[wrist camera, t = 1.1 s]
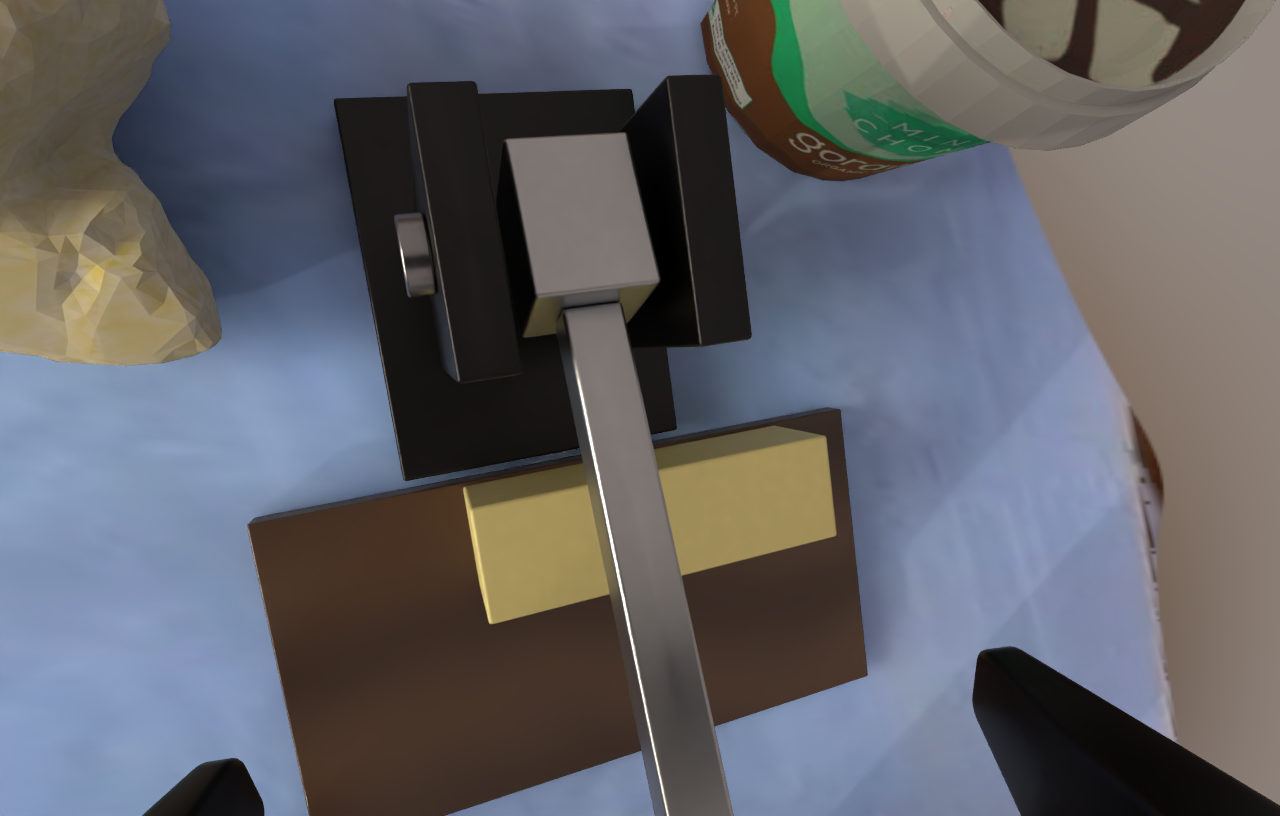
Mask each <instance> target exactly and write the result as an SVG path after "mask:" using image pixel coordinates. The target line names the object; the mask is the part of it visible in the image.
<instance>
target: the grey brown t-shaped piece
mask: <svg viewBox="0 0 1280 816" xmlns="http://www.w3.org/2000/svg"><path fill="white" fill-rule="evenodd" d="M496 208H497V214H498V221H499V227H500V232H501V237H502V242H503V248H504V253H505V258H506V263H507V268H508V273H509V278H510V283H511V288H512V293H513V298H514V303H515V309H516V314H517V319H518V324H519V329H520V334H521V335H522V337H526V338H528V337H535V336H542V335H549V334H556V333H557V338H558V343H559V348H560V353H561V358H562V362H563V367H564V372H565V377H566V382H567V387H568V392H569V397H570V402H571V407H572V412H573V416H574V421H575V426H576V431H577V436H578V441H579V446H580V451H581V456H582V461H583V465H584V470H585V475H586V480H587V485H588V490H589V495H590V500H591V505H592V510H593V515H594V519H595V524H596V529H597V534H598V539H599V544H600V549H601V554H602V559H603V564H604V568H605V573H606V578H607V583H608V588H609V593H610V598H611V603H612V608H613V613H614V618H615V622H616V627H617V632H618V637H619V642H620V647H621V652H622V657H623V662H624V667H625V671H626V676H627V681H628V686H629V691H630V696H631V701H632V706H633V711H634V716H635V721H636V725H637V730H638V735H639V740H640V745H641V750H642V755H643V760H644V765H645V770H646V775H647V779H648V784H649V789H650V794H651V799H652V804H653V809H654V814H655V816H734V814H733V809H732V805H731V800H730V796H729V791H728V786H727V782H726V777H725V773H724V768H723V764H722V759H721V754H720V750H719V745H718V741H717V736H716V731H715V727H714V722H713V718H712V713H711V709H710V704H709V699H708V695H707V690H706V686H705V681H704V676H703V672H702V667H701V663H700V658H699V654H698V649H697V644H696V640H695V635H694V631H693V626H692V621H691V617H690V612H689V608H688V603H687V599H686V594H685V589H684V585H683V580H682V576H681V571H680V566H679V562H678V557H677V553H676V548H675V544H674V539H673V534H672V530H671V525H670V521H669V516H668V511H667V507H666V502H665V498H664V493H663V489H662V484H661V479H660V475H659V470H658V466H657V461H656V456H655V452H654V447H653V443H652V438H651V434H650V429H649V424H648V420H647V415H646V411H645V406H644V401H643V397H642V392H641V388H640V383H639V379H638V374H637V369H636V365H635V360H634V356H633V351H632V346H631V342H630V337H629V333H628V328H627V323H628V322H629V321H630V320H631V319H632V318H633V316H634V315H635V314H636V312H637V311H638V310H639V309H640V307H641V306H642V305H643V304H644V302H645V301H646V300H647V299H648V297H649V296H650V295H651V294H652V292H653V291H654V290H655V289H656V287H657V286H658V285H659V284H660V281H661V277H660V273H659V268H658V264H657V259H656V255H655V251H654V246H653V242H652V237H651V233H650V229H649V224H648V220H647V215H646V211H645V207H644V202H643V198H642V193H641V189H640V184H639V180H638V176H637V171H636V167H635V162H634V158H633V154H632V149H631V145H630V140H629V136H628V134H627V133H625V132H620V133H601V134H582V135H563V136H544V137H525V138H508V139H505V140H504V142H503V147H502V156H501V164H500V172H499V181H498V189H497V198H496Z"/></svg>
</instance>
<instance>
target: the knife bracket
mask: <svg viewBox="0 0 1280 816" xmlns="http://www.w3.org/2000/svg"><path fill="white" fill-rule="evenodd" d="M334 107H335V112H336V118H337V123H338V129H339V134H340V139H341V145H342V150H343V156H344V161H345V166H346V172H347V177H348V183H349V188H350V194H351V199H352V204H353V210H354V215H355V221H356V226H357V231H358V237H359V242H360V248H361V253H362V259H363V264H364V269H365V275H366V280H367V286H368V291H369V296H370V302H371V307H372V313H373V318H374V324H375V329H376V334H377V340H378V345H379V351H380V356H381V361H382V367H383V372H384V378H385V383H386V389H387V394H388V399H389V405H390V410H391V416H392V421H393V426H394V432H395V437H396V443H397V448H398V454H399V459H400V464H401V470H402V475H403V479H404V480H405V481H409V480H414V479H419V478H425V477H430V476H435V475H440V474H446V473H451V472H456V471H462V470H467V469H472V468H477V467H483V466H488V465H493V464H498V463H504V462H509V461H514V460H520V459H525V458H530V457H535V456H541V455H546V454H551V453H556V452H562V451H567V450H572V449H578V448H580V446H579V441H578V436H577V431H576V426H575V421H574V416H573V412H572V407H571V402H570V397H569V392H568V387H567V382H566V377H565V372H564V367H563V362H562V358H561V353H560V348H559V343H558V338H557V333H556V334H549V335H542V336H535V337H528V338H526V337H522V335H521V334H520V329H519V324H518V319H517V314H516V309H515V303H514V298H513V293H512V288H511V283H510V278H509V273H508V268H507V263H506V258H505V253H504V248H503V242H502V237H501V232H500V227H499V221H498V214H497V208H496V198H497V189H498V181H499V172H500V164H501V156H502V147H503V142H504V140H505V139H508V138H525V137H544V136H563V135H582V134H601V133H620V132H625V133H627V134H628V136H629V140H630V145H631V149H632V154H633V158H634V162H635V167H636V171H637V176H638V180H639V184H640V189H641V193H642V198H643V202H644V207H645V211H646V215H647V220H648V224H649V229H650V233H651V237H652V242H653V246H654V251H655V255H656V259H657V264H658V268H659V273H660V277H661V281H660V284H659V285H658V286H657V287H656V289H655V290H654V291H653V292H652V294H651V295H650V296H649V297H648V299H647V300H646V301H645V302H644V304H643V305H642V306H641V307H640V309H639V310H638V311H637V312H636V314H635V315H634V316H633V318H632V319H631V320H630V321H629V322H628V323H627V328H628V333H629V337H630V342H631V346H632V351H633V356H634V360H635V365H636V369H637V374H638V379H639V383H640V388H641V392H642V397H643V401H644V406H645V411H646V415H647V420H648V424H649V429H650V434H657V433H662V432H667V431H672V430H676V429H677V425H676V417H675V410H674V402H673V395H672V387H671V380H670V372H669V365H668V357H667V349H666V348H667V347H703V346H709V345H716V344H723V343H729V342H736V341H742V340H748V339H750V338H751V336H752V333H751V324H750V316H749V307H748V299H747V290H746V282H745V273H744V265H743V256H742V248H741V239H740V231H739V222H738V214H737V205H736V197H735V188H734V179H733V171H732V162H731V154H730V145H729V137H728V128H727V120H726V111H725V103H724V94H723V86H722V78H721V75H718V74H714V75H678V76H667V77H666V78H665V79H664V80H663V81H662V82H661V83H660V85H659V86H658V87H657V88H656V89H655V90H654V91H653V93H652V94H651V95H650V96H649V97H648V98H647V99H646V101H645V102H644V103H643V104H642V105H641V106H640V107H639V109H638V110H637V111H636V112H635V109H634V101H633V94H632V90H631V89H609V90H579V91H549V92H519V93H489V94H478V89H477V85H476V83H475V82H473V81H455V82H420V83H409V84H407V96H400V97H370V98H340V99H334Z"/></svg>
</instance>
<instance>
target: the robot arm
mask: <svg viewBox="0 0 1280 816" xmlns="http://www.w3.org/2000/svg"><path fill="white" fill-rule="evenodd" d="M972 701H973V708H974V712H975V715H976V718H977V721H978V723H979V725H980V727H981V729H982V732H983V734H984V736H985V738H986V740H987V742H988V745H989V747H990V749H991V751H992V753H993V755H994V758H995V760H996V762H997V764H998V766H999V769H1000V771H1001V773H1002V775H1003V777H1004V779H1005V782H1006V784H1007V786H1008V788H1009V790H1010V792H1011V795H1012V797H1013V799H1014V801H1015V803H1016V805H1017V808H1018V810H1019V812H1020V814H1021V816H1280V805H1278V804H1276V803H1275V802H1273V801H1271V800H1270V799H1268V798H1266V797H1265V796H1263V795H1261V794H1260V793H1258V792H1256V791H1255V790H1253V789H1251V788H1250V787H1248V786H1247V785H1245V784H1243V783H1241V782H1240V781H1238V780H1236V779H1235V778H1233V777H1232V776H1230V775H1228V774H1227V773H1225V772H1223V771H1222V770H1220V769H1218V768H1217V767H1215V766H1213V765H1212V764H1210V763H1208V762H1206V761H1205V760H1203V759H1202V758H1200V757H1198V756H1197V755H1195V754H1193V753H1192V752H1190V751H1188V750H1187V749H1185V748H1183V747H1182V746H1180V745H1178V744H1177V743H1175V742H1173V741H1172V740H1170V739H1168V738H1167V737H1165V736H1163V735H1162V734H1160V733H1159V732H1157V731H1155V730H1154V729H1152V728H1150V727H1149V726H1147V725H1145V724H1144V723H1142V722H1140V721H1139V720H1137V719H1135V718H1134V717H1132V716H1130V715H1129V714H1127V713H1125V712H1124V711H1122V710H1120V709H1119V708H1117V707H1115V706H1114V705H1112V704H1110V703H1109V702H1107V701H1105V700H1104V699H1102V698H1100V697H1099V696H1097V695H1095V694H1094V693H1092V692H1090V691H1089V690H1087V689H1085V688H1084V687H1082V686H1080V685H1079V684H1077V683H1075V682H1074V681H1072V680H1070V679H1069V678H1067V677H1066V676H1064V675H1062V674H1061V673H1059V672H1057V671H1056V670H1054V669H1052V668H1051V667H1049V666H1047V665H1046V664H1044V663H1042V662H1041V661H1039V660H1037V659H1036V658H1034V657H1032V656H1031V655H1029V654H1027V653H1026V652H1024V651H1022V650H1020V649H1018V648H1016V647H1011V646H1008V647H1000V648H993V649H987V650H983V651H981V652H980V654H979V655H978V658H977V664H976V672H975V680H974V688H973V699H972ZM142 816H264V805H263V801H262V799H261V797H260V795H259V793H258V791H257V789H256V787H255V785H254V783H253V781H252V779H251V777H250V775H249V773H248V771H247V769H246V767H245V765H244V764H243V762H242V761H240V760H238V759H236V758H230V759H223V760H217V761H210V762H205V763H203V764H201V765H199V766H197V767H196V768H195V769H194V770H192V771H191V772H190V773H189V774H188V775H187V776H186V777H184V778H183V779H182V780H181V781H180V782H179V783H178V784H177V785H176V786H174V787H173V788H172V789H171V790H170V791H169V792H168V793H167V794H166V795H164V796H163V797H162V798H161V799H160V800H159V801H158V802H157V803H156V804H154V805H153V806H152V807H151V808H150V809H149V810H148V811H147V812H146V813H144V814H143V815H142Z"/></svg>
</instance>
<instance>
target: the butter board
mask: <svg viewBox="0 0 1280 816" xmlns="http://www.w3.org/2000/svg"><path fill="white" fill-rule="evenodd" d="M769 426H779V427H784V428H789V429H794V430H799V431H804V432H809V433H814V434H819V435H823V436H826V438H827V448H828V457H829V467H830V476H831V486H832V495H833V505H834V514H835V523H836V533H837V534H836V536H834V537H830V538H826V539H823V540H819V541H815V542H811V543H807V544H803V545H799V546H795V547H791V548H787V549H784V550H780V551H776V552H772V553H768V554H764V555H760V556H756V557H752V558H749V559H745V560H741V561H737V562H733V563H729V564H725V565H721V566H717V567H713V568H710V569H706V570H702V571H698V572H694V573H690V574H686V575H682V580H683V585H684V589H685V594H686V599H687V603H688V608H689V612H690V617H691V621H692V626H693V631H694V635H695V640H696V644H697V649H698V654H699V658H700V663H701V667H702V672H703V676H704V681H705V686H706V690H707V695H708V699H709V704H710V709H711V713H712V718H713V722H714V726H717V725H720V724H723V723H726V722H729V721H732V720H735V719H738V718H741V717H744V716H747V715H750V714H753V713H757V712H760V711H763V710H766V709H769V708H772V707H775V706H778V705H781V704H784V703H787V702H790V701H793V700H796V699H799V698H802V697H805V696H808V695H811V694H814V693H817V692H820V691H823V690H826V689H829V688H832V687H835V686H838V685H841V684H844V683H847V682H850V681H853V680H856V679H859V678H862V677H865V676H867V675H868V673H867V663H866V654H865V644H864V634H863V624H862V615H861V605H860V595H859V585H858V576H857V566H856V556H855V547H854V537H853V527H852V517H851V508H850V498H849V488H848V478H847V469H846V459H845V449H844V440H843V430H842V420H841V411H840V409H835V408H822V409H817V410H811V411H806V412H801V413H796V414H791V415H786V416H780V417H775V418H770V419H765V420H760V421H754V422H749V423H744V424H739V425H734V426H728V427H723V428H718V429H713V430H708V431H703V432H697V433H692V434H687V435H682V436H677V437H671V438H666V439H661V440H656V441H652V443H653V447H654V449H657V448H662V447H667V446H673V445H678V444H683V443H688V442H693V441H698V440H703V439H708V438H713V437H718V436H723V435H729V434H734V433H739V432H744V431H749V430H754V429H759V428H764V427H769ZM581 463H583V461H582V456H581V455H578V456H573V457H568V458H562V459H557V460H552V461H547V462H542V463H536V464H531V465H526V466H521V467H516V468H511V469H505V470H500V471H495V472H490V473H485V474H479V475H474V476H469V477H464V478H459V479H453V480H448V481H443V482H438V483H433V484H428V485H422V486H417V487H412V488H407V489H402V490H396V491H391V492H386V493H381V494H376V495H370V496H365V497H360V498H355V499H350V500H344V501H339V502H334V503H329V504H324V505H319V506H313V507H308V508H303V509H298V510H293V511H287V512H282V513H277V514H272V515H267V516H261V517H256V518H254V519H253V520H252V521H251V522H250V523H249V524H248V525H247V528H248V533H249V538H250V542H251V547H252V552H253V556H254V561H255V566H256V570H257V575H258V580H259V584H260V589H261V594H262V598H263V603H264V607H265V612H266V617H267V621H268V626H269V631H270V635H271V640H272V645H273V649H274V654H275V659H276V663H277V668H278V673H279V677H280V682H281V686H282V691H283V696H284V700H285V705H286V710H287V714H288V719H289V724H290V728H291V733H292V738H293V742H294V747H295V751H296V756H297V761H298V765H299V770H300V775H301V779H302V784H303V789H304V793H305V798H306V803H307V807H308V812H309V816H445V815H448V814H451V813H454V812H457V811H460V810H463V809H466V808H469V807H472V806H475V805H478V804H481V803H484V802H487V801H490V800H493V799H496V798H499V797H502V796H505V795H509V794H512V793H515V792H518V791H521V790H524V789H527V788H530V787H533V786H536V785H539V784H542V783H545V782H548V781H551V780H554V779H557V778H560V777H563V776H566V775H569V774H572V773H575V772H578V771H581V770H584V769H587V768H590V767H593V766H596V765H599V764H602V763H605V762H608V761H611V760H614V759H617V758H620V757H623V756H626V755H629V754H633V753H636V752H639V751H642V750H641V745H640V740H639V735H638V730H637V725H636V721H635V716H634V711H633V706H632V701H631V696H630V691H629V686H628V681H627V676H626V671H625V667H624V662H623V657H622V652H621V647H620V642H619V637H618V632H617V627H616V622H615V618H614V613H613V608H612V603H611V598H610V594H608V595H604V596H601V597H597V598H593V599H589V600H585V601H581V602H577V603H573V604H569V605H566V606H562V607H558V608H554V609H550V610H546V611H542V612H538V613H534V614H530V615H527V616H523V617H519V618H515V619H511V620H507V621H503V622H499V623H495V624H490V623H489V621H488V617H487V613H486V609H485V605H484V601H483V596H482V592H481V588H480V584H479V578H478V572H477V567H476V561H475V555H474V549H473V544H472V538H471V532H470V526H469V521H468V515H467V509H466V503H465V498H464V492H463V489H464V487H465V486H469V485H474V484H479V483H484V482H489V481H494V480H499V479H505V478H510V477H515V476H520V475H525V474H530V473H535V472H540V471H545V470H550V469H555V468H561V467H566V466H571V465H576V464H581Z"/></svg>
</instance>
